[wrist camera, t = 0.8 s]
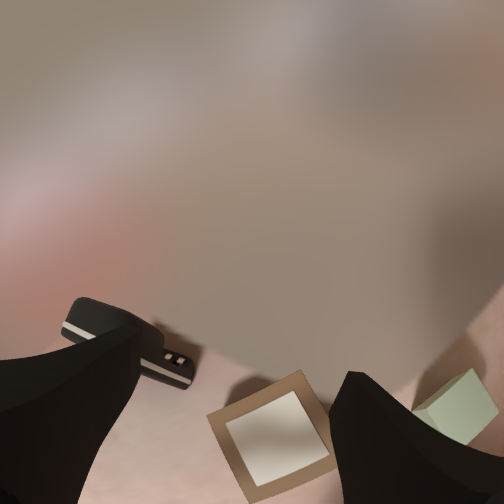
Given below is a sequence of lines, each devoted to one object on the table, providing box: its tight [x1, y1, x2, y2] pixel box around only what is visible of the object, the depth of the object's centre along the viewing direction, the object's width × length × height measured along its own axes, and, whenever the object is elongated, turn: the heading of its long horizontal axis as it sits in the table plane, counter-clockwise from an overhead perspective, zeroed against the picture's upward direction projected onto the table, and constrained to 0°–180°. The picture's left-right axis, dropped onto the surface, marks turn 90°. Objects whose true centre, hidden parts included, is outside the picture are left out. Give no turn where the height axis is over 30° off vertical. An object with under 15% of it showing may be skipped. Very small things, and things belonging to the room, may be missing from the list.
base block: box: [206, 369, 338, 504], centre depth 19 cm, size 8×8×3 cm
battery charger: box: [61, 297, 193, 390], centre depth 22 cm, size 7×4×11 cm, turn 74°
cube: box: [411, 368, 499, 445], centre depth 15 cm, size 4×4×4 cm
